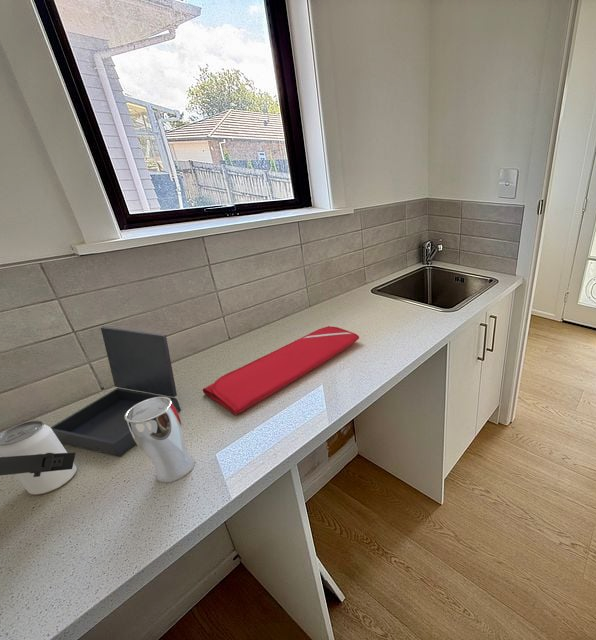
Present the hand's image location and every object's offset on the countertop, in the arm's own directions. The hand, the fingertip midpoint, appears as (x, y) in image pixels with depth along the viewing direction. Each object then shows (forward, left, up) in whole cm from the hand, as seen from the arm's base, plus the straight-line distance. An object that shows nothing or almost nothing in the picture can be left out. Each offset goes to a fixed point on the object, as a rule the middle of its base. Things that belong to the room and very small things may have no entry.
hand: (26, 465), depth 58 cm
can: (-1, +2, -6) cm, 7 cm away
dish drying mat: (+21, +45, -6) cm, 50 cm away
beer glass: (+19, +9, -6) cm, 22 cm away
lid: (-3, +24, +5) cm, 25 cm away
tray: (-3, +16, -6) cm, 17 cm away
